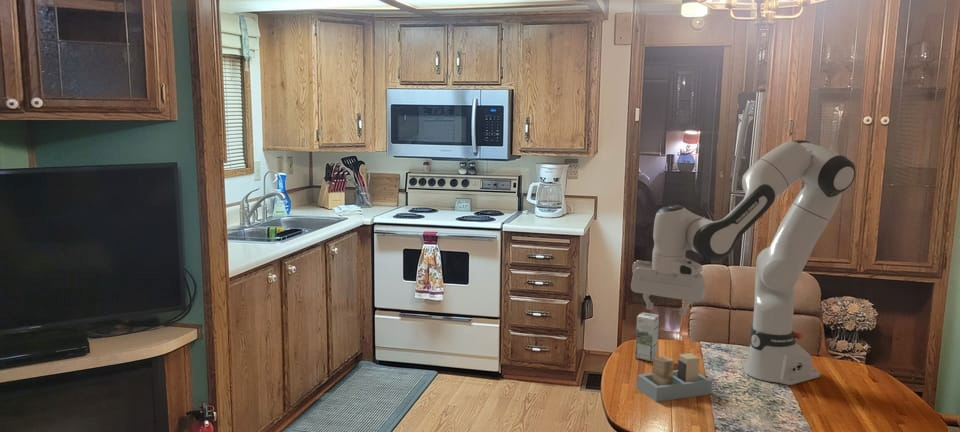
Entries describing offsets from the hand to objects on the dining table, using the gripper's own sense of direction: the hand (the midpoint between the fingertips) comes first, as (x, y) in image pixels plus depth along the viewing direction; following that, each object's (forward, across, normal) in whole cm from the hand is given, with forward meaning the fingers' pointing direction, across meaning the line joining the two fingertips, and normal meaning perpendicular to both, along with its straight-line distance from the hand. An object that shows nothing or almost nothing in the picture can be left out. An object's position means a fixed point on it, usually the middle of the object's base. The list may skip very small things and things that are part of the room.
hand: (665, 312), depth 191 cm
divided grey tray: (+24, +2, +3) cm, 24 cm away
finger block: (+23, 0, 0) cm, 23 cm away
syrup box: (+24, -14, +25) cm, 37 cm away
